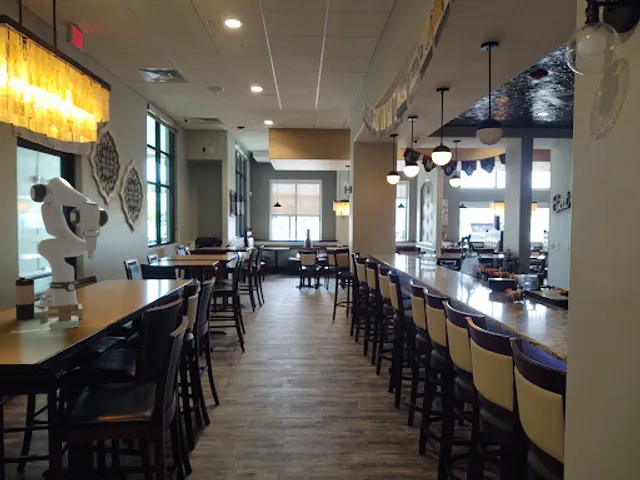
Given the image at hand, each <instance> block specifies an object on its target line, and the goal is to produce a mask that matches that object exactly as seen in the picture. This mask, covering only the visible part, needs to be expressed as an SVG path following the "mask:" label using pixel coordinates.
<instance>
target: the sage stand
mask: <svg viewBox="0 0 640 480" xmlns="http://www.w3.org/2000/svg"><path fill="white" fill-rule="evenodd" d="M79 320H80V319H78V317H71V320H69V321H59V319H58V318H54V319H51V322H50V331H53V330H54V331H55V330H56V329H57V330H65V329H66V328H67V329H75V328H74V327H78V328H80V321H79ZM67 329H66V330H67ZM57 330H56V331H57Z"/></svg>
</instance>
